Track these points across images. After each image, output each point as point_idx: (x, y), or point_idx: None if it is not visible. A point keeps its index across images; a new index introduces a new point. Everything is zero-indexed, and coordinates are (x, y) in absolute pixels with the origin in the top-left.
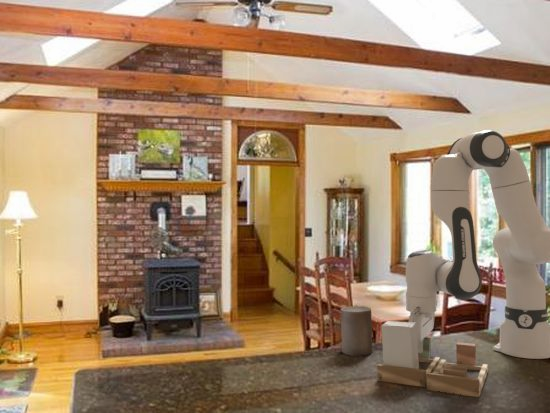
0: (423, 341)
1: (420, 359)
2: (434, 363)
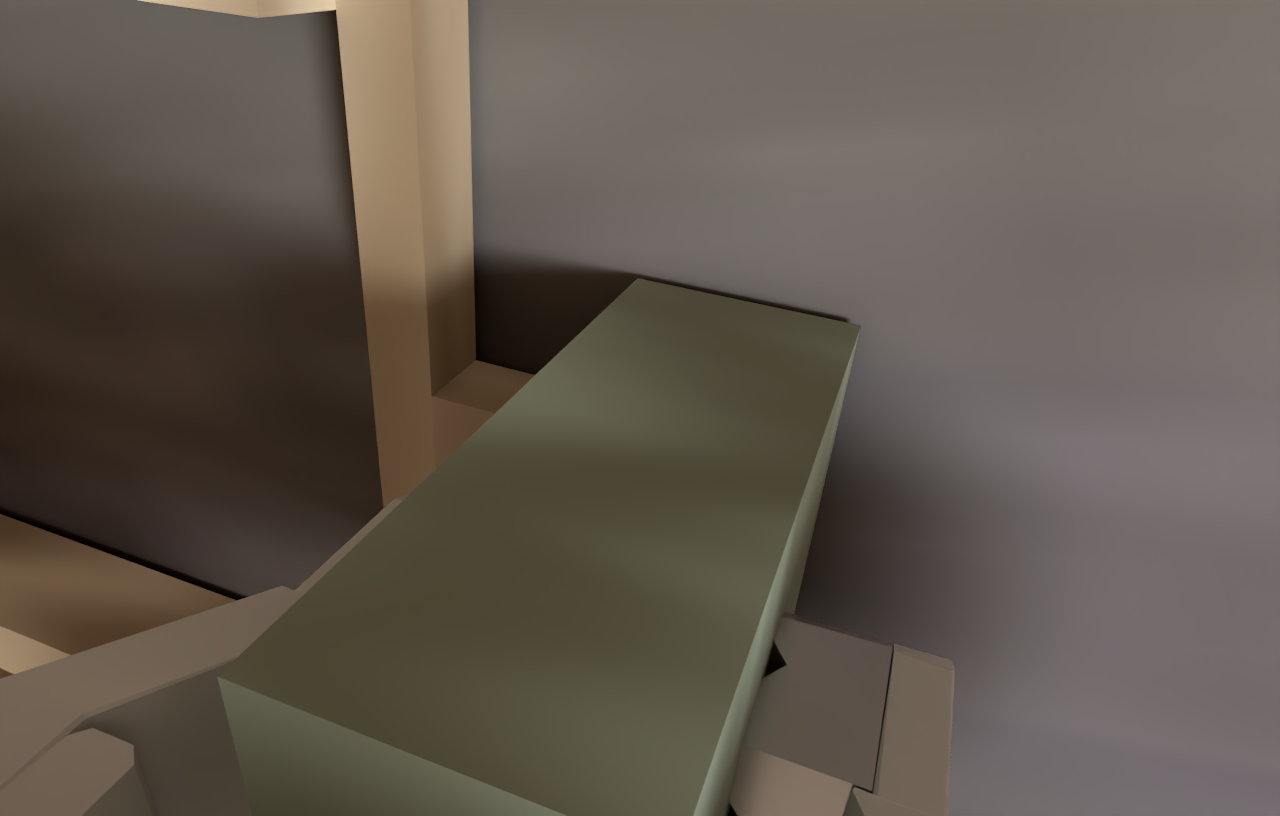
0: None
1: (392, 472)
2: (7, 661)
